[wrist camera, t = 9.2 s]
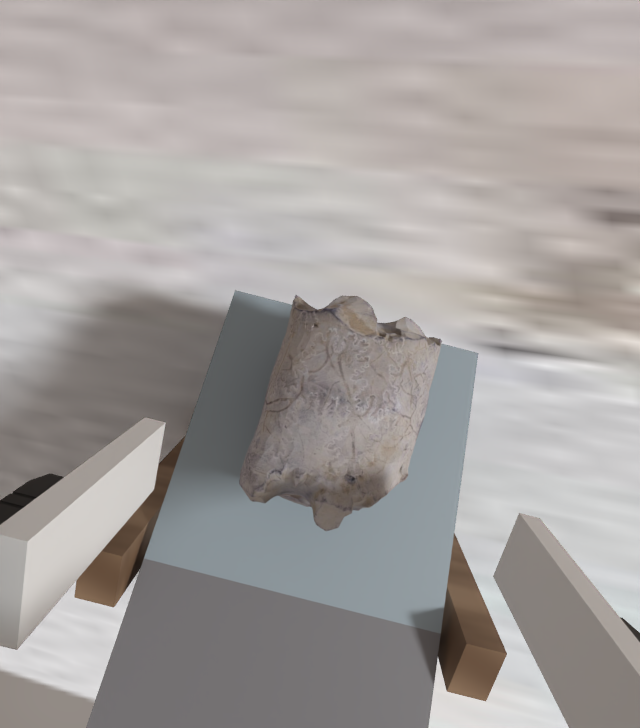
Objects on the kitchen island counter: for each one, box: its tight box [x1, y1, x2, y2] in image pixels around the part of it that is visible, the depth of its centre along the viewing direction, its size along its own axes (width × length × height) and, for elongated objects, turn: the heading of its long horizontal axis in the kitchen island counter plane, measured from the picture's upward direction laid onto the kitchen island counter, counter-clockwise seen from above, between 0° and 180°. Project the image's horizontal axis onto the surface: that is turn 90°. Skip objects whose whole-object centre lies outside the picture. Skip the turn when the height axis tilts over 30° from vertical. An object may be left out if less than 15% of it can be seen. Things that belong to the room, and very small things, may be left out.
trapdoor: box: [86, 290, 478, 728], centre depth 24 cm, size 24×16×4 cm, turn 166°
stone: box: [239, 295, 442, 531], centre depth 21 cm, size 8×12×7 cm, turn 163°
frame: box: [75, 436, 507, 701], centre depth 28 cm, size 5×22×17 cm, turn 76°
